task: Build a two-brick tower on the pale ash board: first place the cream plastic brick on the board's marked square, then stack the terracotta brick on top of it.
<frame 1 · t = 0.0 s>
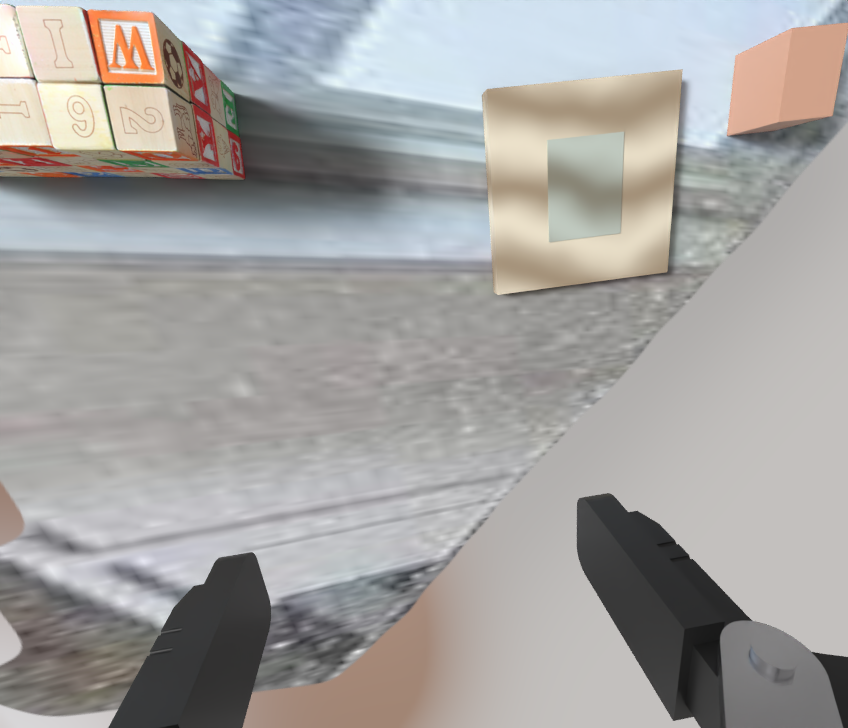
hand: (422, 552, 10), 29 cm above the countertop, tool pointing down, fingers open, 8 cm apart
stack of blocks: (99, 135, 31), on the countertop
ash board: (576, 190, 36), on the countertop
terracotta brick: (754, 94, 35), on the countertop
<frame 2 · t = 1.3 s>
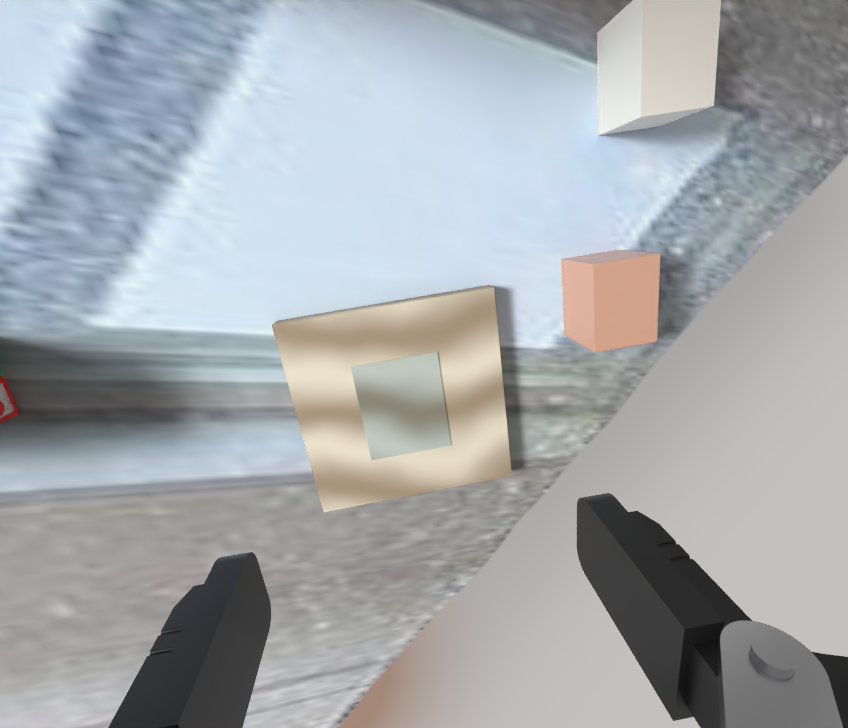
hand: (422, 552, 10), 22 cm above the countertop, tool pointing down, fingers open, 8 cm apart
ash board: (402, 400, 33), on the countertop
terracotta brick: (590, 293, 32), on the countertop
cream brick: (628, 81, 28), on the countertop
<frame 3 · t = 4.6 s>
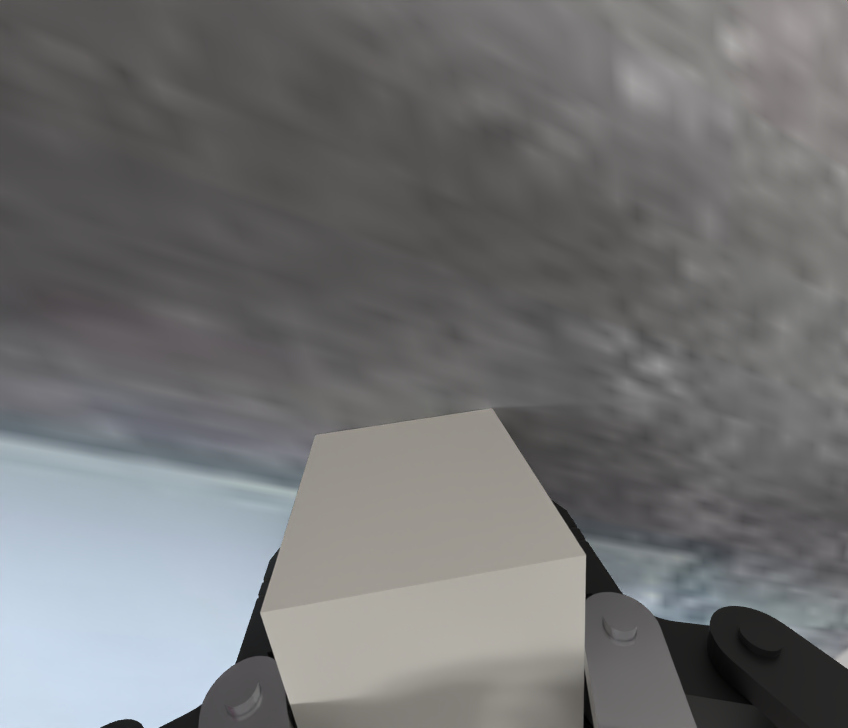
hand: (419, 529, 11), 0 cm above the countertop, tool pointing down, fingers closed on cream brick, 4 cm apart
cream brick: (419, 518, 11), on the countertop, touching gripper
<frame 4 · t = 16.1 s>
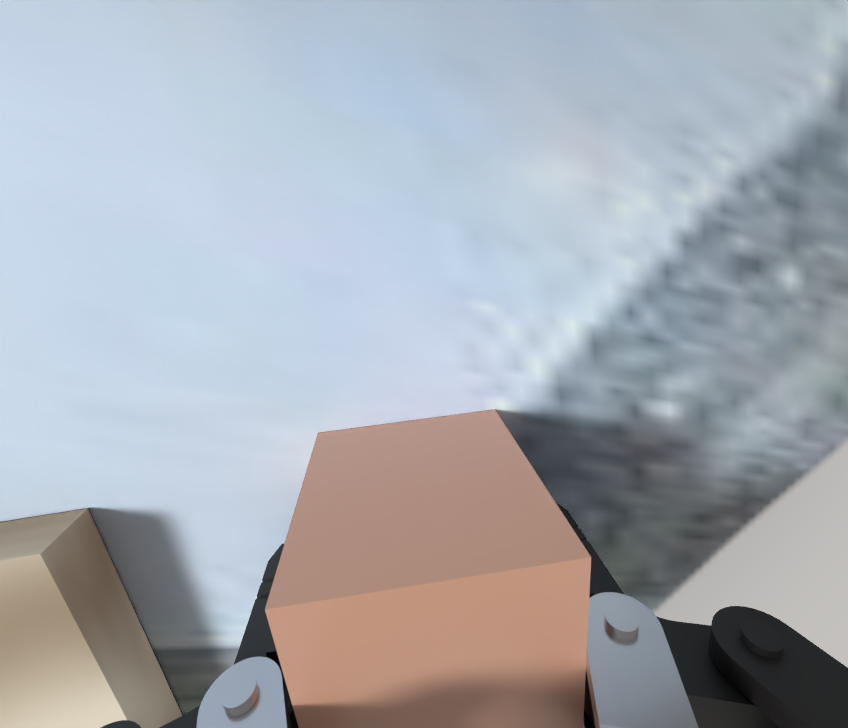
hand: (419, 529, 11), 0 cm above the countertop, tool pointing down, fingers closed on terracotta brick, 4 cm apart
terracotta brick: (419, 518, 11), on the countertop, touching gripper
when the fingers open (8 cm above the countertop, at t = 20.8 s): terracotta brick stays where it is, resting on cream brick.
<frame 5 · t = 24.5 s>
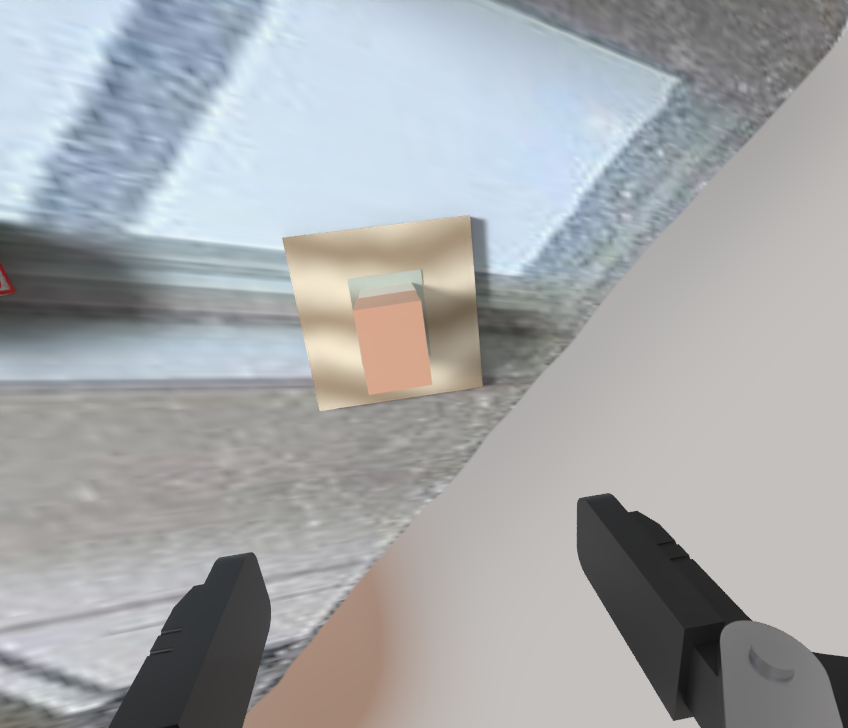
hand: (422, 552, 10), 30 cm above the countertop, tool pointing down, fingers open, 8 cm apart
ash board: (390, 315, 39), on the countertop
terracotta brick: (391, 331, 32), point 7 cm above the countertop, touching cream brick
cream brick: (391, 318, 37), point 2 cm above the countertop, touching ash board, terracotta brick
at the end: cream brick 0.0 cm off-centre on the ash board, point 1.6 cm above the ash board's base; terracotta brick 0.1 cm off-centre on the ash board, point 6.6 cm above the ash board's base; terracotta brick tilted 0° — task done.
